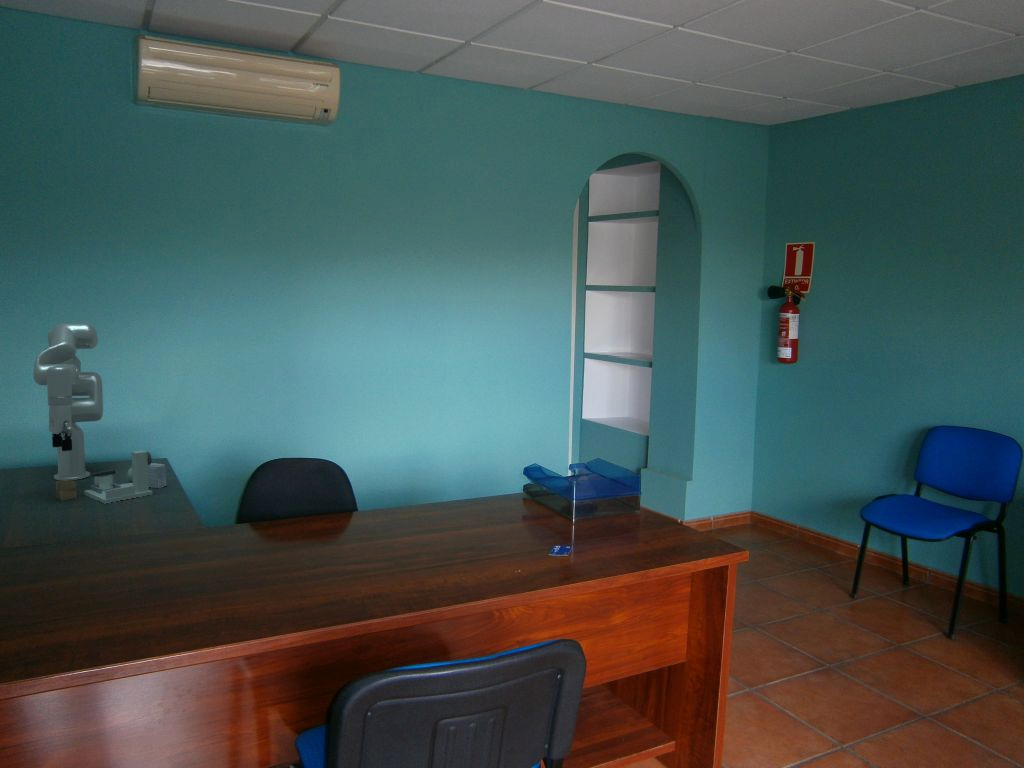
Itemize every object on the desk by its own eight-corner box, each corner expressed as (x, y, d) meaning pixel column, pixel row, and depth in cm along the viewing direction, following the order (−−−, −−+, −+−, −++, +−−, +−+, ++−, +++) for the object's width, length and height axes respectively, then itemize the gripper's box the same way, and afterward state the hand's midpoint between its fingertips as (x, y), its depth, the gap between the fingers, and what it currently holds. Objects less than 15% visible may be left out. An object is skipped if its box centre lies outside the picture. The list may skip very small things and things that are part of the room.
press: (84, 494, 290) (82, 451, 288) (133, 486, 303) (131, 445, 301) (104, 504, 279) (102, 459, 277) (154, 494, 292) (153, 452, 290)
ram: (90, 489, 291) (89, 472, 290) (112, 485, 297) (112, 469, 296) (94, 491, 288) (94, 474, 287) (117, 487, 294) (116, 471, 293)
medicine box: (166, 486, 304) (166, 464, 303) (158, 489, 300) (157, 466, 299) (150, 484, 307) (149, 462, 306) (141, 487, 302) (140, 464, 301)
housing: (56, 498, 285) (55, 480, 284) (71, 495, 289) (70, 478, 288) (61, 500, 282) (61, 483, 281) (76, 498, 286) (76, 481, 285)
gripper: (40, 399, 284) (42, 446, 285) (56, 404, 272) (59, 453, 274) (63, 398, 289) (65, 444, 291) (80, 402, 277) (82, 450, 279)
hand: (62, 448), depth 282 cm, fingers open, 9 cm apart
